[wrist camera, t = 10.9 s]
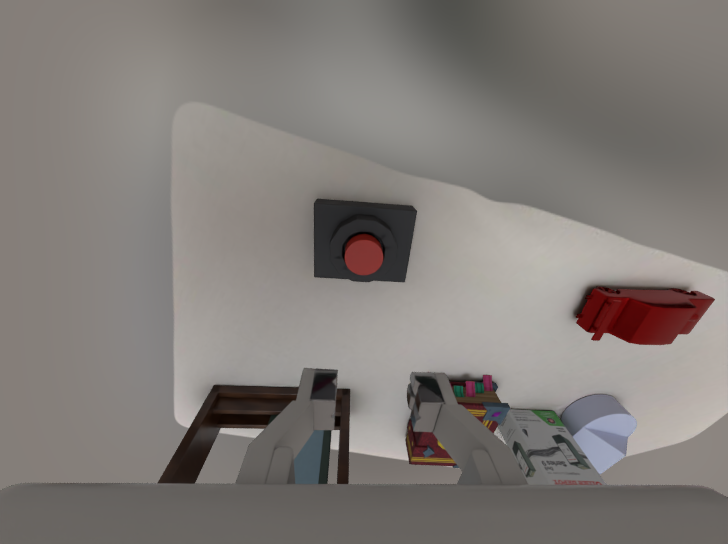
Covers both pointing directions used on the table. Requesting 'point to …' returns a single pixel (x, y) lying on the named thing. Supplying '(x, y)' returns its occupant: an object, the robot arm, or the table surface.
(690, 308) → the toy car
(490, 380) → the decorative book
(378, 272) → the switch block
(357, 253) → the red push button
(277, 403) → the window frame
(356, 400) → the table surface
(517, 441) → the ink box
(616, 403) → the wedge on round base
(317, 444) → the window pane
